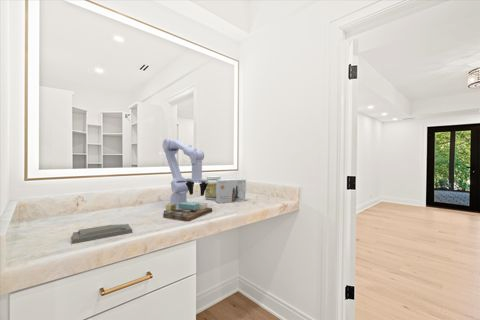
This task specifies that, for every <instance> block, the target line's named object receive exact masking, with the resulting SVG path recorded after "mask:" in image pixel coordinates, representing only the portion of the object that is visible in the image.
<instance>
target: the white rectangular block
mask: <svg viewBox="0 0 480 320" xmlns="http://www.w3.org/2000/svg"><path fill="white" fill-rule="evenodd" d="M191 203H199V208H198V209H205V208H208V202H200V201H191Z"/></svg>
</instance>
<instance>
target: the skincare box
mask: <svg viewBox="0 0 480 320" xmlns="http://www.w3.org/2000/svg"><path fill="white" fill-rule="evenodd" d="M216 181H217V186H216V200H215V202H216V203H217V204H226V203H237V202H245V201H246V191H247V190H246V189H247V188H246V187H247V186H246V185H247V180H246V179H245V178H229V179H227V178H225V179H224V178H223V179H220V180H216Z"/></svg>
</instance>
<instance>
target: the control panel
mask: <svg viewBox="0 0 480 320" xmlns="http://www.w3.org/2000/svg"><path fill="white" fill-rule="evenodd" d="M212 212H213V207H207V208H205V209H195V210H190V209H182V208H180V209H176V212H173V211H166V209H165V210H163V214H162V218H164V219H169V220H175V221H176V220H177V221H184V222H191V221H192V220H196V219H199V218H200V217H203V216H205V215H208V214H210V213H212Z"/></svg>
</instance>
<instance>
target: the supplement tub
mask: <svg viewBox="0 0 480 320" xmlns="http://www.w3.org/2000/svg"><path fill="white" fill-rule="evenodd" d="M206 179H207V180H208V185H207V187H206V189H205V192H204V197H205V199H206V200H207V201H208V200H209V201H216V186H217V181H216V180H221V176H220V175H207V176H206Z"/></svg>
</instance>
